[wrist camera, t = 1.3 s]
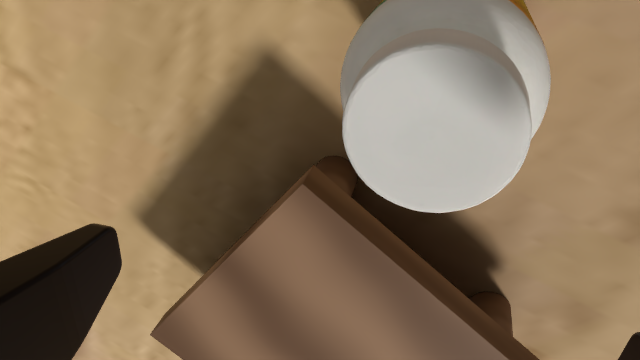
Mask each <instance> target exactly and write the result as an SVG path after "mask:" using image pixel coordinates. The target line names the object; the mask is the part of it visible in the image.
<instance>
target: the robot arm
mask: <svg viewBox="0 0 640 360" xmlns="http://www.w3.org/2000/svg"><path fill="white" fill-rule="evenodd" d="M121 266H122V259H121V254H120V248H119V243H118V237H117V233H116V231H115V229H114V228H112V227H110V226H106V225H101V224H89V225H86V226H84V227H82V228H79V229H77V230H75V231H72V232H70V233H67V234H65V235H63V236H60V237H58V238H56V239H53V240H51V241H48V242H46V243H44V244H41V245H39V246H37V247H34V248H32V249H29V250H27V251H25V252H22V253H20V254H17V255H15V256H13V257H10V258H8V259H6V260H3V261H1V262H0V360H72V358H73V357H74V355H75V354H76V352H77V351H78V349H79V347H80V346H81V344H82V342H83V341H84V339H85V337H86V335H87V334H88V332H89V330H90V328H91V326H92V324H93V322H94V321H95V319H96V317H97V315H98V313H99V311H100V309H101V307H102V305H103V303H104V302H105V300H106V298H107V296H108V294H109V292H110V290H111V288H112V286H113V285H114V283H115V281H116V279H117V277H118V275H119V273H120V270H121ZM618 360H640V332H637V333H635V334H633V335H632V337H631V338H630V340H629V341H628V343H627V345H626V347H625V348H624V350H623V352H622V353H621V355H620V357H619V359H618Z"/></svg>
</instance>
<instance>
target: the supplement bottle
mask: <svg viewBox="0 0 640 360" xmlns="http://www.w3.org/2000/svg"><path fill="white" fill-rule="evenodd" d="M550 81H551V77H550V66H549V61H548V57H547V52H546V49H545V46H544V42H543V40H542V38H541V36H540V34H539V32H538V30H537V28H536V26H535V24H534V22H533V20H532V17H531V15H530V13H529V11H528V9H527V6H526V4H525V2H524V0H382V1H381V2H380V4H379V5H378V6H377V7H376V8H375V9H374V11H373V12H372V13H371V14H370V15H369V16H368V18H367V19H366V20H365V21H364V22H363V24H362V25H361V26H360V28H359V29H358V31H357V33H356V34H355V36H354V38H353V40H352V41H351V43H350V46H349V48H348V50H347V53H346V56H345V59H344V63H343V67H342V73H341V83H340V92H341V101H342V106H343V110H344V112H343V119H342V137H343V141H344V146H345V150H346V153H347V155H348V158H349V160H350V162H351V164H352V166H353V168H354V169H355V171H356V173H357V174H358V176H359V177H360V178H361V179H362V180H363V181H364V183H365V184H366V185H367V186H369V187H370V188H371V189H372V190H373V191H374V192H376V193H377V194H378V195H380V196H382V197H383V198H385V199H386V200H388V201H391V202H392V203H394V204H397V205H399V206H402V207H405V208H408V209H411V210H415V211H421V212H431V213H444V212H453V211H459V210H464V209H467V208H470V207H473V206H476V205H478V204H480V203H482V202H484V201H486V200H488V199H490V198H491V197H493V196H494V195H496V194H497V193H498V192H500V191H501V190H502V189H503V188H504V187H505V186H506V185H507V184H508V183H509V182H510V181H511V180H512V179H513V178H514V176H515V175H516V174H517V173H518V171H519V169H520V168H521V166H522V164H523V162H524V160H525V157H526V155H527V152H528V149H529V146H530V141H531V139H532V137H533V136H534V134H535V133H536V131H537V129H538V128H539V126H540V124H541V122H542V120H543V117H544V114H545V111H546V108H547V105H548V100H549V95H550Z"/></svg>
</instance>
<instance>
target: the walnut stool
mask: <svg viewBox="0 0 640 360" xmlns="http://www.w3.org/2000/svg"><path fill="white" fill-rule="evenodd" d="M356 183H357V173H356V171H355V169H354V168H353V166H352V164H351V163H350V162H349V161H348V160H346V159H344V158H342V157H339V156H328V157H325V158H323V159H322V160H321V161H319V163H318V164H317V166H314V165H313V166H312V167H311V168H310V169H309V170H308V171H307V172H306V173H305V174H304V175H303V176H302V177H301V178H300V179H299V180H298V181H297V182H296V183H295V184H294V185H293V186H292V187H291V188H290V189H289V190H288V191H287V192H286V193H285V194H284V195H283V196H282V197H281V198H280V199H279V200H278V201H277V202H276V203H275V204H274V205H273V206H272V207H271V208H270V209H269V210H268V211H267V212H266V213H265V214H264V215H263V216H262V217H261V218H260V219H259V220H258V221H257V222H256V223H255V224H254V225H253V226H252V227H251V228H250V229H249V230H248V231H247V232H246V233H245V234H244V235H243V236H242V237H241V238H240V239H239V240H238V241H237V242H236V243H235V244H234V245H233V246H232V247H231V248H230V249H229V250H228V251H227V252H226V253H225V254H224V255H223V256H222V257H221V258H220V259H219V260H218V261H217V262H216V263H215V264H214V265H213V266H212V267H211V268H210V269H209V270H208V271H207V272H206V273H205V274H204V275H203V276H202V277H201V278H200V279H199V280H198V281H197V282H196V283H195V284H194V285H193V286H192V287H191V288H190V289H189V290H188V291H187V292H186V293H185V294H184V295H183V296H182V297H181V298H180V299H179V300H178V301H177V302H176V303H175V304H174V305H173V306H172V307H171V308H170V309H169V310H168V311H167V312H166V313H165V315H164V316H163V317H162V319H161V320H160V321H159V323H158V324H157V326H156V327H155V328H154V330H153V331H152V333H151V334H150V335H151V336H152V337H154V338H155V339H156V340H158V341H159V342H160V343H162V344H163V345H164V346H166V347H167V348H168V349H170V350H171V351H172V352H174V353H175V354H176V355H178V356H179V357H180V358H182V359H183V360H539V359H538V358H537V357H536V356H535V355H533V354H532V353H531V352H530V351H529V350H528V349H526V348H525V347H524V346H523V345H522V344H521V343H520V342H518V341H517V340H516V339H515V338H514V337H513V331H512V318H511V307H510V304H509V302H508V301H507V299H506V298H504V297H503V296H501V295H499V294H497V293H493V292H481V293H478V294H476V295H474V296H472V297H471V298H470V299H469V298H467V297H466V296H465V295H464V294H463V293H462V292H460V291H459V290H458V289H457V288H456V287H455V286H453V285H452V284H451V283H450V282H449V281H448V280H447V279H445V278H444V277H443V276H442V275H441V274H440V273H438V272H437V271H436V270H435V269H434V268H433V267H431V266H430V265H429V264H428V263H427V262H426V261H424V260H423V259H422V258H421V257H420V256H419V255H418V254H416V253H415V252H414V251H413V250H412V249H411V248H409V247H408V246H407V245H406V244H405V243H404V242H402V241H401V240H400V239H399V238H398V237H397V236H396V235H394V234H393V233H392V232H391V231H390V230H389V229H387V228H386V227H385V226H384V225H383V224H382V223H380V222H379V221H378V220H377V219H376V218H375V217H374V216H372V215H371V214H370V213H369V212H368V211H367V210H365V209H364V208H363V207H362V206H361V205H360V204H358V203H357V202H356V201H355V200H354V199H353V198H351V196H352V193H353V191H354V188H355V186H356Z"/></svg>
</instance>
